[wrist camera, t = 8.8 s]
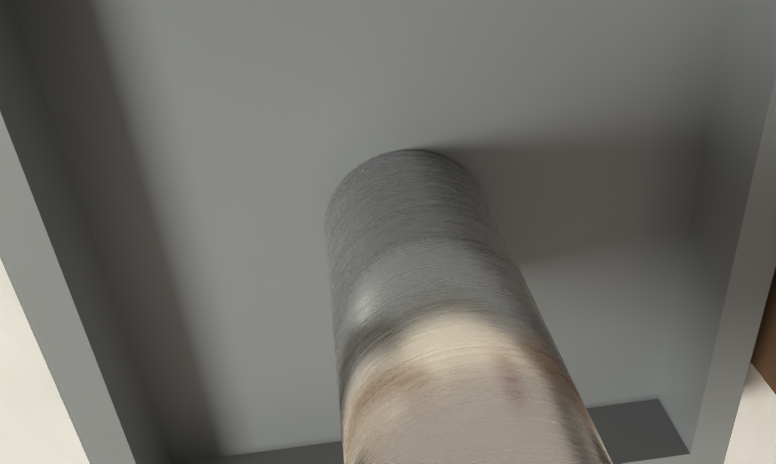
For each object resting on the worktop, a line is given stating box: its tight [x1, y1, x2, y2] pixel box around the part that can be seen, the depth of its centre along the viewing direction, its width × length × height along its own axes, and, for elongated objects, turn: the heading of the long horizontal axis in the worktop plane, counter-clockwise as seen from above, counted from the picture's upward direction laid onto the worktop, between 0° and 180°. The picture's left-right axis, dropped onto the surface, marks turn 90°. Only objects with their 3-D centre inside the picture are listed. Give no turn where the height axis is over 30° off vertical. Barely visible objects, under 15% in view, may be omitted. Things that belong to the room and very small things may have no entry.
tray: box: [0, 0, 776, 464], centre depth 13 cm, size 13×13×2 cm
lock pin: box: [324, 149, 613, 464], centre depth 10 cm, size 3×3×8 cm
